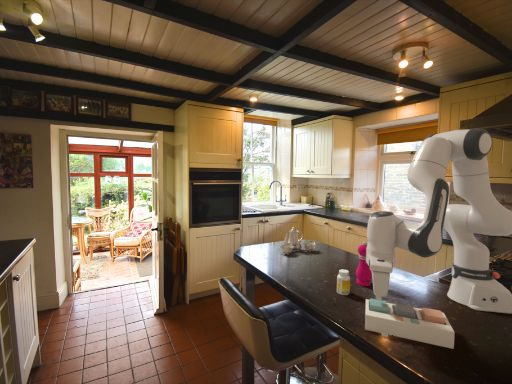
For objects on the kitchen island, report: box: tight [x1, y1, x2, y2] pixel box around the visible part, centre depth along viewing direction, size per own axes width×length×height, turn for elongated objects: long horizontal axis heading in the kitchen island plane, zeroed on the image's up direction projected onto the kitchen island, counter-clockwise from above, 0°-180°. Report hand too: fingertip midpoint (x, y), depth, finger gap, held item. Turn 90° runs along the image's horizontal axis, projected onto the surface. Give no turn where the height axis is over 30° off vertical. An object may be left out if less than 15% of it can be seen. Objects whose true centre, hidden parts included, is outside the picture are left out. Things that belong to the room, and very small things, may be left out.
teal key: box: [369, 298, 388, 314], centre depth 91 cm, size 5×5×3 cm
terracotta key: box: [421, 307, 445, 325], centre depth 84 cm, size 5×5×3 cm
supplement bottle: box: [336, 269, 351, 296], centre depth 113 cm, size 5×5×10 cm
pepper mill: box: [355, 241, 372, 287], centre depth 123 cm, size 7×7×20 cm
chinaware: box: [278, 226, 317, 255], centre depth 175 cm, size 28×17×17 cm, turn 119°
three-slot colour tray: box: [364, 298, 456, 350], centre depth 87 cm, size 24×12×5 cm, turn 67°
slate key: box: [394, 302, 415, 319], centre depth 87 cm, size 5×5×3 cm
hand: (378, 298), depth 90 cm, fingers closed
